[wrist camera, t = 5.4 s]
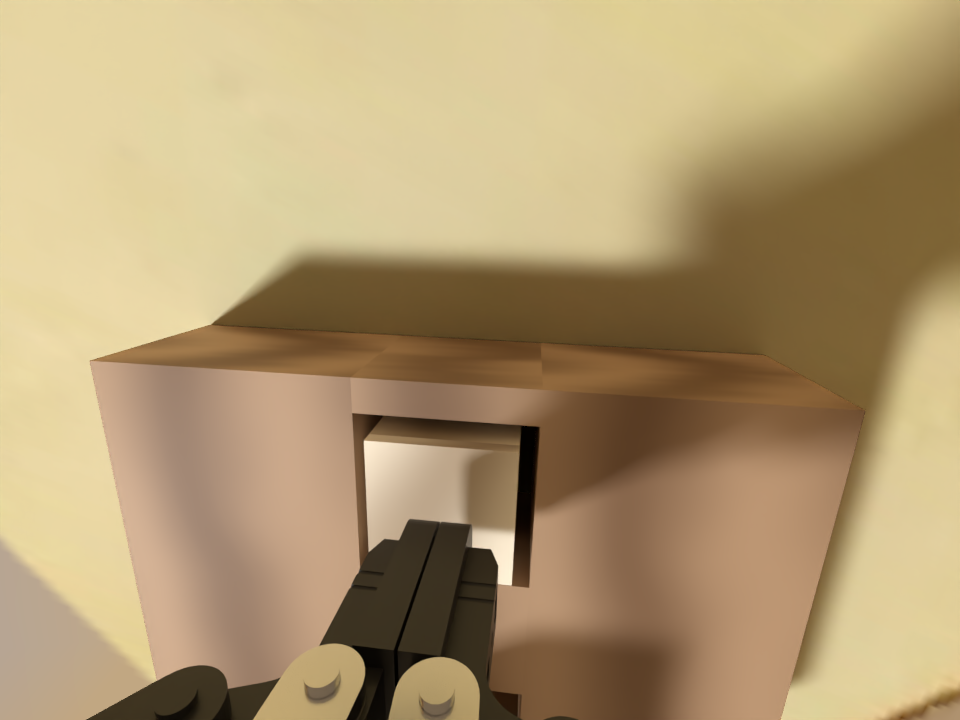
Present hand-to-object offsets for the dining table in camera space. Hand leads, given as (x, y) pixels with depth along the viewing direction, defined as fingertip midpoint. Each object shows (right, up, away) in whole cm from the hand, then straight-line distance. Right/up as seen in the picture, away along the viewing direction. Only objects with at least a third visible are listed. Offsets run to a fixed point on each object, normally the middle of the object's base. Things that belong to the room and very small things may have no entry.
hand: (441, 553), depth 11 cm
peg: (0, +2, +6) cm, 6 cm away
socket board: (0, -2, +8) cm, 8 cm away
